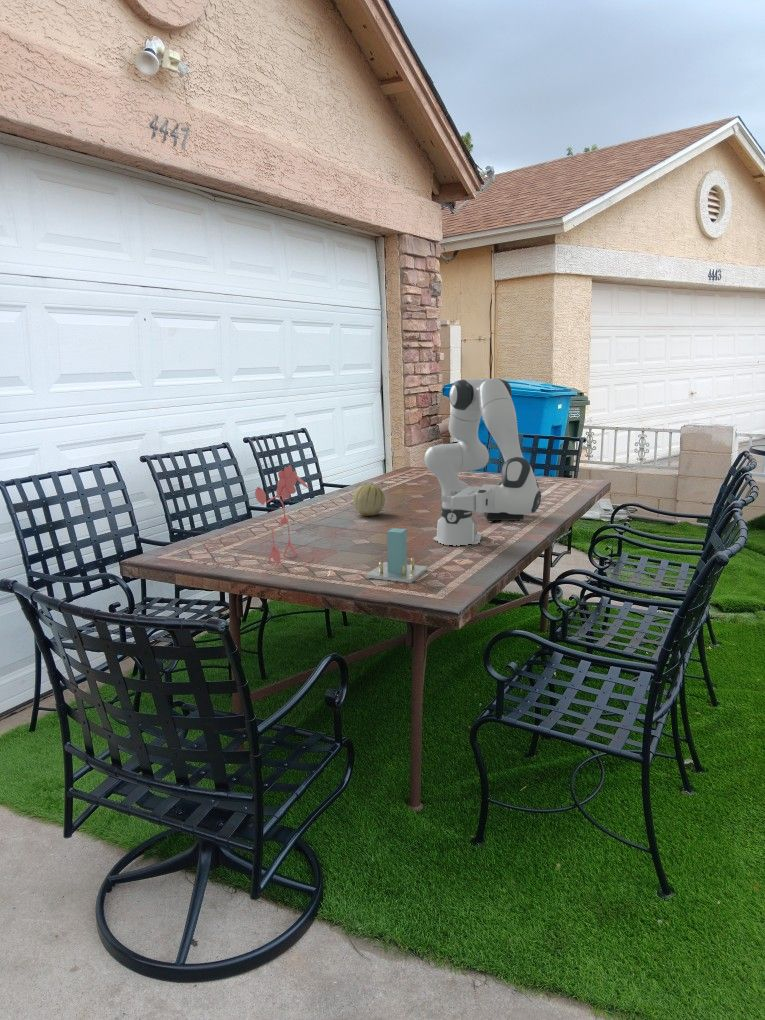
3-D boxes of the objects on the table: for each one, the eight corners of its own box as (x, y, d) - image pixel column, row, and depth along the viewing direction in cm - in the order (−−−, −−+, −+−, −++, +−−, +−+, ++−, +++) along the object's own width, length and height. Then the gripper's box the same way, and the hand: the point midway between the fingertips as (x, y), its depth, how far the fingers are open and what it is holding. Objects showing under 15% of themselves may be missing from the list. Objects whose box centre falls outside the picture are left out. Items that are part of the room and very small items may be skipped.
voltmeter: (482, 514, 335) (482, 471, 330) (518, 514, 334) (519, 471, 330) (485, 523, 319) (486, 477, 315) (523, 522, 318) (524, 477, 314)
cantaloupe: (350, 518, 331) (349, 486, 328) (356, 511, 345) (355, 480, 342) (382, 519, 329) (382, 486, 325) (387, 512, 343) (387, 480, 340)
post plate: (384, 565, 258) (384, 552, 257) (427, 569, 252) (427, 556, 251) (366, 578, 244) (365, 564, 243) (410, 583, 238) (410, 569, 237)
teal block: (393, 567, 251) (392, 528, 248) (406, 569, 249) (406, 529, 246) (387, 571, 247) (387, 531, 244) (401, 573, 245) (401, 532, 242)
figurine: (251, 567, 258) (248, 469, 250) (294, 550, 280) (292, 459, 272) (286, 574, 251) (284, 473, 243) (328, 555, 273) (327, 463, 265)
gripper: (496, 483, 240) (456, 480, 245) (479, 494, 221) (436, 491, 227) (496, 501, 241) (456, 499, 246) (479, 514, 223) (436, 511, 228)
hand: (446, 495), depth 236 cm, fingers open, 8 cm apart
